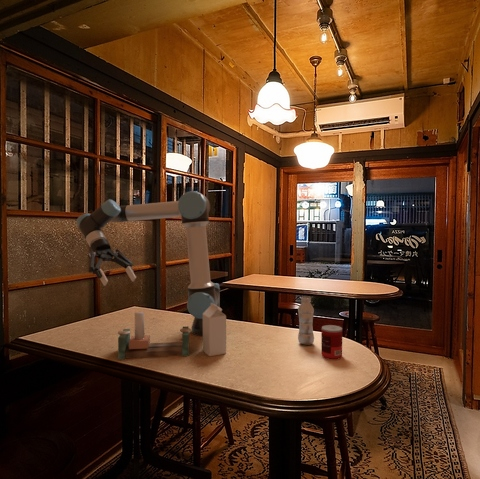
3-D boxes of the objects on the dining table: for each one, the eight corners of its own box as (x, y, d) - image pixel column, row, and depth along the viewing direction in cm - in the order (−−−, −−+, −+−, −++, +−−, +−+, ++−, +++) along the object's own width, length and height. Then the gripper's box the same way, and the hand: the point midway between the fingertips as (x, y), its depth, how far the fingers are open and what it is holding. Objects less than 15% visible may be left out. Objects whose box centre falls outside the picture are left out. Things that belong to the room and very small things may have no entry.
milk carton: (209, 356, 134) (209, 307, 133) (202, 351, 140) (202, 303, 139) (226, 353, 137) (226, 305, 136) (218, 348, 143) (218, 302, 143)
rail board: (191, 345, 147) (190, 325, 147) (191, 355, 135) (191, 333, 135) (121, 348, 143) (121, 328, 143) (115, 359, 131) (115, 337, 131)
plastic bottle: (314, 347, 145) (314, 298, 144) (297, 346, 146) (297, 298, 145) (314, 342, 151) (314, 295, 150) (298, 341, 152) (298, 295, 152)
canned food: (343, 354, 136) (343, 326, 136) (340, 361, 129) (340, 331, 129) (323, 351, 140) (323, 324, 139) (319, 358, 132) (319, 329, 132)
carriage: (149, 342, 142) (149, 310, 142) (147, 348, 135) (147, 314, 135) (131, 343, 141) (131, 311, 141) (129, 349, 134) (128, 315, 134)
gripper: (119, 248, 163) (140, 283, 155) (67, 250, 143) (88, 291, 135) (126, 237, 160) (148, 272, 152) (74, 238, 140) (97, 279, 132)
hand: (120, 281), depth 143 cm, fingers open, 13 cm apart
